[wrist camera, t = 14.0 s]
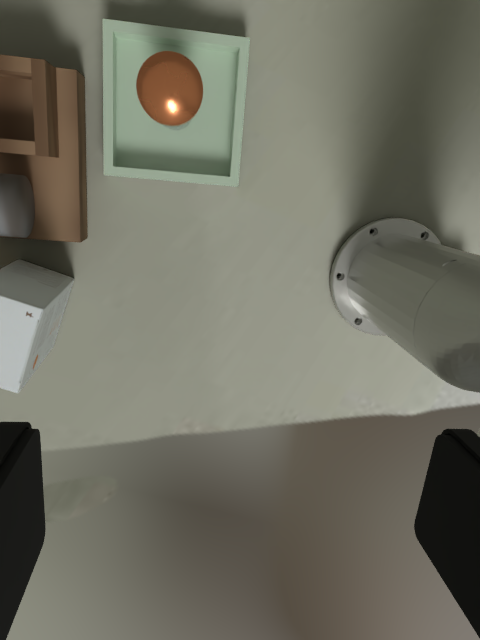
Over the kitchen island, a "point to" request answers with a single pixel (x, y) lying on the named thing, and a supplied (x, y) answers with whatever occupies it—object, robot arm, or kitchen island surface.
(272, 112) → the kitchen island surface
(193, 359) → the kitchen island surface
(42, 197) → the brown wooden stepped holder
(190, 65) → the lock pin
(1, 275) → the small box
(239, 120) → the tray
